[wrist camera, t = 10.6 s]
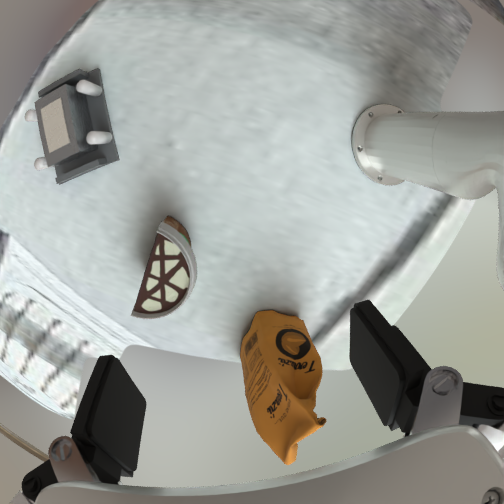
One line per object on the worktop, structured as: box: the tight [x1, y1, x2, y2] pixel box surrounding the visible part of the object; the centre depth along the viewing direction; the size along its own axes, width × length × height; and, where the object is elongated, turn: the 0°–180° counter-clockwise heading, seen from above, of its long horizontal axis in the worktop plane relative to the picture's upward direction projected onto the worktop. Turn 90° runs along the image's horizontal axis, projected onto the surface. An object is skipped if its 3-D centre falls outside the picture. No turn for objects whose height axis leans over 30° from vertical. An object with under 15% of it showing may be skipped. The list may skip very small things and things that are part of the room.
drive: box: [35, 84, 98, 167], centre depth 27 cm, size 5×9×6 cm, turn 13°
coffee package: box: [240, 310, 326, 465], centre depth 37 cm, size 10×12×22 cm
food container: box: [131, 216, 197, 319], centre depth 35 cm, size 12×6×10 cm, turn 155°
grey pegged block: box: [25, 68, 119, 185], centre depth 28 cm, size 10×14×6 cm
